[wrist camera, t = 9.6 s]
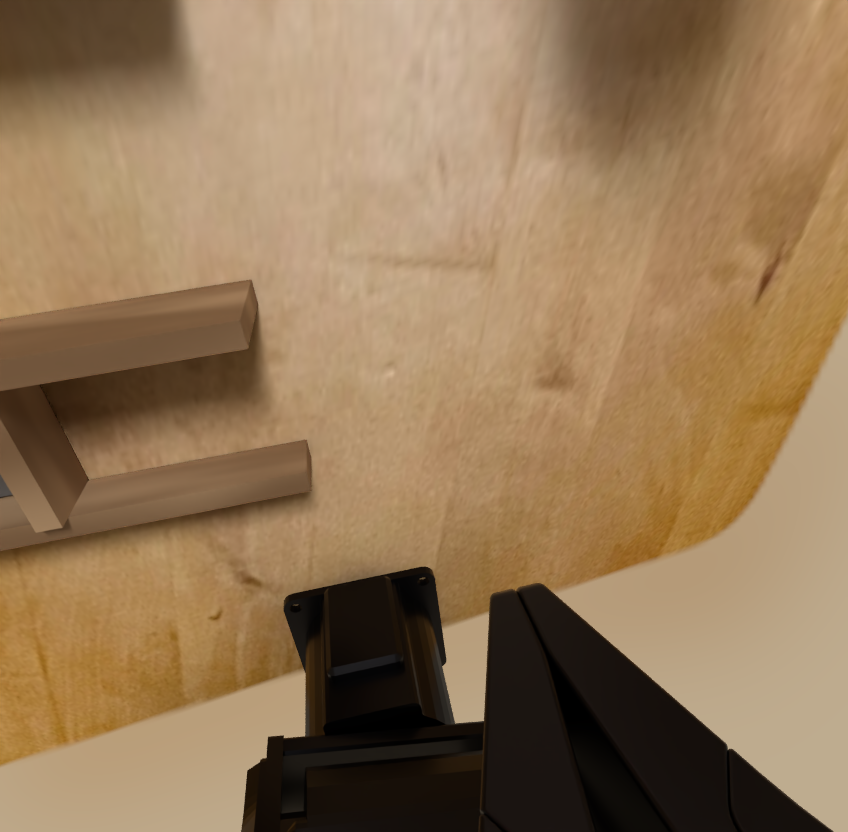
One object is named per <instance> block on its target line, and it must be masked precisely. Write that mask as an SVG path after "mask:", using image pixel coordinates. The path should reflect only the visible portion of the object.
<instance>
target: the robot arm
mask: <svg viewBox="0 0 848 832" xmlns="http://www.w3.org/2000/svg"><path fill="white" fill-rule="evenodd" d="M422 577H426V578H425V579H420V578H422ZM294 604H299V605H298V606H293V605H294ZM284 613H285V616H286V618H287V621H288V624H289V627H290V630H291V633H292V636H293V639H294V642H295V644H296V647H297V650H298V653H299V656H300V659H301V662H302V665H303V668H304V670H305V673H306V732H305V733H306V735H305V737H293V738H284V736H272V737H268V745H267V758H265V759H262V760H261V761H260V763H258V764H257V765H255V766H254V767H253V768H251V769H249V770H248V771H247V781H246V793H245V804H244V814H243V823H242V830H241V832H833V831H832V830H831V829H829V828H828V827H827V826H825V825H824V824H823V823H822V822H820V821H819V820H818V819H816V818H815V817H814V816H812V815H811V814H810V813H808V812H807V811H806V810H804V809H803V808H802V807H801V806H799V805H798V804H797V803H796V802H794V801H793V800H792V799H791V798H790V797H788V796H787V795H786V794H785V793H783V792H782V791H781V790H780V789H778V788H777V787H776V786H775V785H774V784H773V783H771V782H770V781H769V780H767V778H765V777H764V776H763V775H762V774H761V773H759V772H758V771H757V770H756V769H755V768H754V767H753V766H751V765H750V764H749V763H748V762H747V761H746V760H745V759H743V758H742V757H741V756H740V755H739V754H738V753H737V752H735V751H734V750H733V749H729V750H728V747H727V744H726V743H725V742H724V741H722V740H721V739H720V738H719V737H718V736H717V735H715V734H714V733H713V732H712V731H711V730H710V729H709V728H708V727H706V726H705V725H704V724H703V723H702V722H701V721H699V720H698V719H697V718H696V717H695V716H694V715H693V714H692V713H690V712H689V711H688V710H687V709H686V708H685V707H683V706H682V705H681V704H680V703H679V702H678V701H677V700H675V699H674V698H673V697H672V696H671V695H670V694H669V693H667V692H666V691H665V690H664V689H663V688H661V686H659V685H658V684H657V683H656V682H655V681H653V680H652V679H651V678H650V677H649V676H648V675H647V674H646V673H644V672H643V671H642V670H641V669H640V668H639V667H638V666H636V665H635V664H634V663H633V662H632V661H631V660H630V659H628V658H627V657H626V656H625V655H624V654H623V653H621V652H620V651H619V650H618V649H617V648H616V647H614V646H613V645H612V644H611V643H610V642H609V641H608V640H606V639H605V638H604V637H603V636H602V635H601V634H600V633H599V632H597V631H596V630H595V629H594V628H593V627H592V626H590V625H589V624H588V623H587V622H586V621H585V620H584V619H582V618H581V617H580V616H579V615H578V614H577V613H575V612H574V611H573V610H572V609H571V608H570V607H569V606H567V605H566V604H565V603H564V602H563V601H562V600H561V599H559V598H558V597H557V596H556V595H555V594H554V593H553V592H551V591H550V590H549V589H548V588H547V587H546V586H544V585H543V584H541V583H535V584H531V585H526V586H522V587H519V588H518V589H517V591H515V590H513V589H509V590H505V591H501V592H497V593H493V594H492V595H491V597H490V610H489V631H488V632H489V633H488V651H487V673H486V693H485V713H484V721H481V722H468V723H457V724H455V721H454V717H453V713H452V708H451V704H450V699H449V695H448V691H447V686H446V682H445V678H444V673H443V669H442V666H443V665H444V664H445V663H446V654H445V647H444V640H443V633H442V626H441V619H440V612H439V605H438V598H437V591H436V584H435V578H434V574H433V571H432V570H431V569H430V568H428V567H418V568H414V569H409V570H404V571H399V572H394V573H390V574H385V575H380V576H375V577H370V578H366V579H361V580H356V581H351V582H346V583H342V584H337V585H332V586H327V587H322V588H318V589H313V590H308V591H303V592H298V593H294V594H291V595H288V596H287V597H286V598H285V600H284Z"/></svg>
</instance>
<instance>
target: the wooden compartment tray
mask: <svg viewBox="0 0 848 832" xmlns="http://www.w3.org/2000/svg"><path fill="white" fill-rule="evenodd" d="M257 307H258V302H257V299H256V295H255V291H254V288H253V284H252V280H246V281H240V282H233V283H227V284H221V285H215V286H208V287H202V288H196V289H189V290H183V291H177V292H171V293H164V294H158V295H152V296H145V297H139V298H133V299H127V300H120V301H114V302H108V303H101V304H95V305H89V306H83V307H76V308H70V309H64V310H57V311H51V312H45V313H39V314H32V315H26V316H20V317H14V318H7V319H1V320H0V551H3V550H8V549H14V548H19V547H24V546H29V545H34V544H39V543H45V542H50V541H55V540H60V539H65V538H70V537H76V536H81V535H86V534H91V533H96V532H101V531H107V530H112V529H117V528H122V527H127V526H133V525H138V524H143V523H148V522H153V521H158V520H164V519H169V518H174V517H179V516H184V515H189V514H195V513H200V512H205V511H210V510H215V509H220V508H226V507H231V506H236V505H241V504H246V503H252V502H257V501H262V500H267V499H272V498H277V497H283V496H288V495H293V494H298V493H303V492H308V491H311V455H310V452H309V448H308V444H307V440H303V441H297V442H292V443H287V444H281V445H276V446H270V447H265V448H260V449H254V450H249V451H243V452H238V453H233V454H227V455H222V456H216V457H211V458H206V459H200V460H195V461H189V462H184V463H179V464H173V465H168V466H162V467H157V468H152V469H146V470H141V471H135V472H130V473H125V474H119V475H114V476H108V477H103V478H98V479H92V480H88V478H87V476H86V474H85V472H84V470H83V469H82V467H81V465H80V463H79V461H78V459H77V457H76V455H75V453H74V451H73V449H72V447H71V445H70V443H69V441H68V439H67V437H66V436H65V434H64V432H63V430H62V428H61V426H60V424H59V422H58V420H57V418H56V416H55V414H54V412H53V410H52V408H51V406H50V404H49V402H48V401H47V399H46V397H45V395H44V393H43V391H42V389H41V387H40V385H39V384H45V383H51V382H57V381H62V380H68V379H74V378H80V377H86V376H92V375H98V374H104V373H110V372H115V371H121V370H127V369H133V368H139V367H145V366H151V365H157V364H163V363H169V362H174V361H180V360H186V359H192V358H198V357H204V356H210V355H216V354H222V353H227V352H233V351H239V350H245V349H248V348H249V343H250V339H251V334H252V330H253V325H254V321H255V316H256V312H257Z"/></svg>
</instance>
